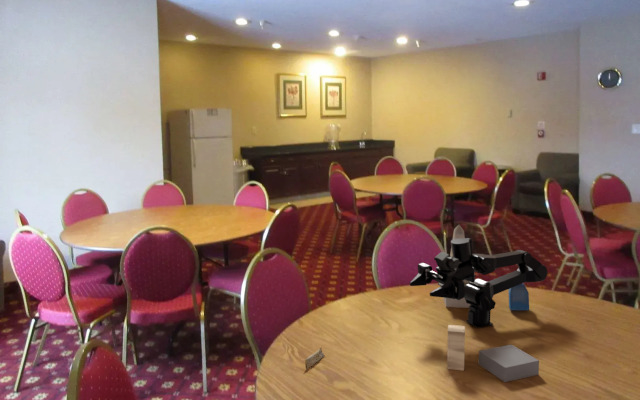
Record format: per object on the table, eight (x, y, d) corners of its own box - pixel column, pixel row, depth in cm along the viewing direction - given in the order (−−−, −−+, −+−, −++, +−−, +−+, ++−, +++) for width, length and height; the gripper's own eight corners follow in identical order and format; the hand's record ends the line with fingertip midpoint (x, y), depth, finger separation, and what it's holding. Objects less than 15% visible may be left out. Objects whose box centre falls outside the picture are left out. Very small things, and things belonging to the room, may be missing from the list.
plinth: (510, 357, 150) (511, 344, 150) (538, 374, 140) (539, 360, 140) (478, 364, 147) (478, 350, 146) (504, 382, 136) (505, 367, 136)
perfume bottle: (527, 307, 189) (525, 274, 189) (529, 310, 183) (527, 276, 183) (509, 306, 191) (507, 273, 191) (510, 310, 185) (509, 275, 185)
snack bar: (307, 370, 145) (307, 360, 145) (302, 369, 146) (302, 359, 146) (325, 357, 153) (324, 347, 153) (320, 355, 154) (320, 346, 154)
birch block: (447, 361, 149) (448, 324, 147) (464, 363, 147) (464, 326, 146) (447, 368, 144) (447, 331, 143) (464, 370, 143) (464, 332, 142)
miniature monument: (441, 297, 202) (443, 221, 197) (469, 298, 200) (471, 221, 196) (444, 307, 192) (445, 227, 187) (473, 308, 190) (476, 227, 186)
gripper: (435, 242, 174) (398, 256, 167) (478, 258, 158) (439, 275, 151) (437, 272, 177) (401, 288, 170) (479, 291, 162) (441, 309, 155)
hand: (419, 289), depth 161 cm, fingers open, 9 cm apart
